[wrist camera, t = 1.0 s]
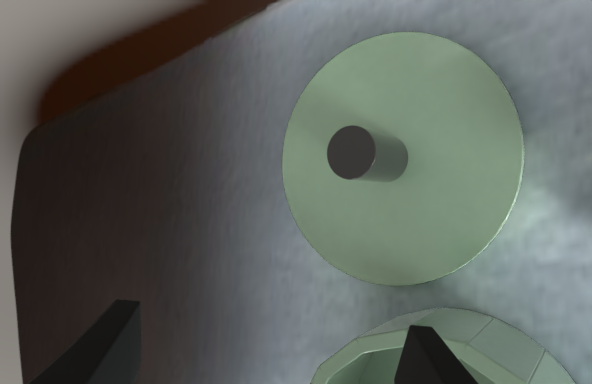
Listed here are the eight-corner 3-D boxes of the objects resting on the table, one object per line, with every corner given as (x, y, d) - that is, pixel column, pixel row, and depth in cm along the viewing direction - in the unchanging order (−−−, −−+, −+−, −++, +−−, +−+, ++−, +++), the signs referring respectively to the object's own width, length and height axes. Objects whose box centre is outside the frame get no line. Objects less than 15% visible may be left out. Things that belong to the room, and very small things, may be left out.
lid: (539, 25, 23) (520, -15, 18) (513, 305, 23) (489, 330, 19) (300, 46, 30) (246, 20, 25) (284, 262, 30) (228, 272, 26)
